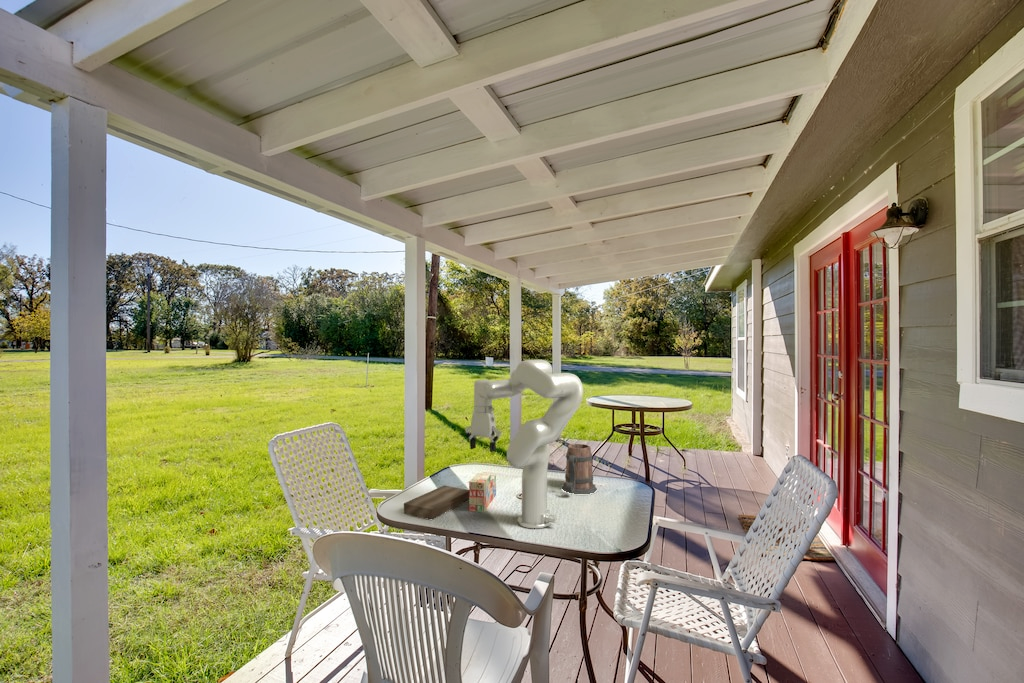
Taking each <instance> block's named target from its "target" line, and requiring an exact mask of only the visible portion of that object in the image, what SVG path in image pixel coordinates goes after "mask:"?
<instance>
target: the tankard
mask: <svg viewBox="0 0 1024 683" xmlns="http://www.w3.org/2000/svg"><path fill="white" fill-rule="evenodd" d="M567 446H568V447H567V451H566V454H565V458H566V466H565V467H566V468H565V476H564V479H565V482H564V483H563V485H562V486H561V487H562V489H563V490H564V491H566V492H569V493H574V494H590V493H594V492H595V491H596V490H597V489H598V488H597V487H596V485H595V484H594V474H593V454H592V449H591V446H590V445H588V444H584V443H575V444H574V443H573V444H571V443H570V444H568V445H567ZM594 494H595V493H594Z"/></svg>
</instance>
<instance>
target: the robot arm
mask: <svg viewBox="0 0 1024 683" xmlns="http://www.w3.org/2000/svg"><path fill="white" fill-rule="evenodd" d="M473 387H474V388H473V403H474V404H473V412H472V415H471V421H470V425H469V426H467V427H465V429H464V430H465V433H466V435H467V437H468V440H469V447H470V448H469V449H470V450H475V448H476V447H477V444H476V443H477V441H476V440H477V439H476V437H481V438H488V439H489V441H490V442H489V452H490V453H493V452H495V451H496V448H497V446H496V445H497V441H498V440H499V439H500V437H501V435H502V431H500V430H499V429H498V428H496V427H497V426H496V417H495V414H494V411H495V407H493V404H492V403H493V400H498V399H507V398H508V399H509V398H512V397H514V396H517V395H519V394H522V393H524V391H525V390H526V389H529V390H531V391H532V392H534V393H535V394H537V395H538V396H540V397H541V398H543V399H556V400H555V401H554V402H553V403H552V404H551V405H550V406H549V407H548V409H547V410H546V412H545V413H544V414H543V416H541V417H538V418H535V419H531V420H530V419H529V420H527V421H526V422H524V423H523V424H522V425H521V426H520V427H519V429H518V430H517V432H516V433H515V435H514V437H513V438H512V440H511V441H510V443H509V445H508V447H507V450H506V459H507V462H508V464H509V465H510V466H511V467H513V468H516V469H522V472H521V473H522V474H521V515H519V516H518V517H517V523H518V524H519V526H521V527H524V528H527V529H534V528H535V529H543V528H547V527H548V526H550V525H551V524H552V523H553V524H557V520H558V519H557V515H554V514H551V512H550V509H548V467H549V461H550V456H551V449H550V444H552V443H554V442H556V441H557V440H558V438H559V437H560V435H561V433H562V432H563V430H564V429H565V428H566V426H567V425H568V423H569V422H570V420H571V419H572V418H573V416H574V415H575V413H576V412H577V411H578V409H579V407H580V406H581V404H582V401H583V398H584V386H583V383H582V381H581V379H580V378H579V376H577V374H574V373H571V372H557V373H556V372H555V373H553V366H552V365H551V363H550V362H549V361H547V360H545V359H525V360H522V361H520V362H519V363H518V364H517V366H516V368H515V369H514V370H513V371H512V372H511V374H510V378H507V379H499V380H498V379H497V380H489V379H476V380H475V381H474V383H473ZM476 449H477V448H476Z"/></svg>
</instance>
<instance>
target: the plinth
mask: <svg viewBox="0 0 1024 683" xmlns="http://www.w3.org/2000/svg"><path fill="white" fill-rule="evenodd" d="M468 500H469V489H464V488H459V487H455V486H449V485H442V486H440V487H438V488H435V489H433V490H429V491H428V492H426V493H424V494H421V495H419V496H417V497H415V498H413V499H411V500H408V501H406V502H404V503H403V514H405V515H408V516H409V515H410V516H413V517H417V516H418V518H421V517H423V518H422V519H425V518H428V519H427V520H429V519H433V520H435V519H437V518H438V516H439V517H440V516H442V515H444V514H446V513H448V512H450V511H452V510H453V508H454V509H455V508H457V507H459V506H461V505H463V504H465V503H467V502H469V501H468ZM466 501H467V502H466ZM451 509H452V510H451ZM449 510H450V511H449ZM447 511H448V512H447ZM445 512H446V513H445ZM436 517H437V518H436ZM434 518H435V519H434Z"/></svg>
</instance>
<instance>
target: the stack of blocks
mask: <svg viewBox="0 0 1024 683" xmlns="http://www.w3.org/2000/svg"><path fill="white" fill-rule="evenodd" d="M496 477H497V476H496V474H493V473H485V472H477V473H476V474H475V475H474V476H473V477H472V478H471V479H470V480H469V482H468V483H469V484H468V490H469V501H468V503H469V504H468V511H470V512H471V513H483V514H484V513H485V512H486V510H487V509H488V508H489V506H490V505H491V503H492V501H493V500H494V499H495V497H496V496H497V481H496V480H497V478H496Z"/></svg>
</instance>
